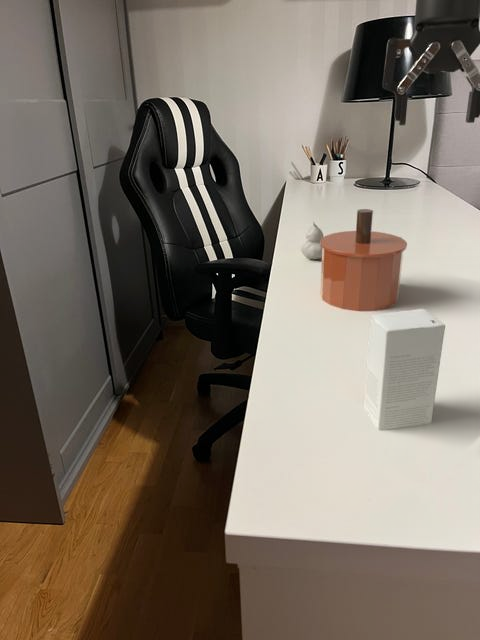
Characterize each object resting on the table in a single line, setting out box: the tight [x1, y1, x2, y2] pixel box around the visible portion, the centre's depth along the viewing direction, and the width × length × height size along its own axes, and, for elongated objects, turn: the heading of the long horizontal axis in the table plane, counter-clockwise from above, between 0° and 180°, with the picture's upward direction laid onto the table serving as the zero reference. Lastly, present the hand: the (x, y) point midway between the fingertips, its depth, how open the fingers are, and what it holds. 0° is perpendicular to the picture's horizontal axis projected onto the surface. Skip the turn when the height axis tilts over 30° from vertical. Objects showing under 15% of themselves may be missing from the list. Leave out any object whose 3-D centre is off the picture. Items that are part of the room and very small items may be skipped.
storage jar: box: [319, 248, 404, 312], centre depth 83 cm, size 13×13×10 cm
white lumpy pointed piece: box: [300, 221, 325, 260], centre depth 104 cm, size 5×7×8 cm
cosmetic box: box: [363, 308, 446, 431], centre depth 51 cm, size 6×4×12 cm
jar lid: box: [320, 208, 408, 257], centre depth 80 cm, size 14×14×6 cm
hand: (435, 123), depth 67 cm, fingers open, 8 cm apart
